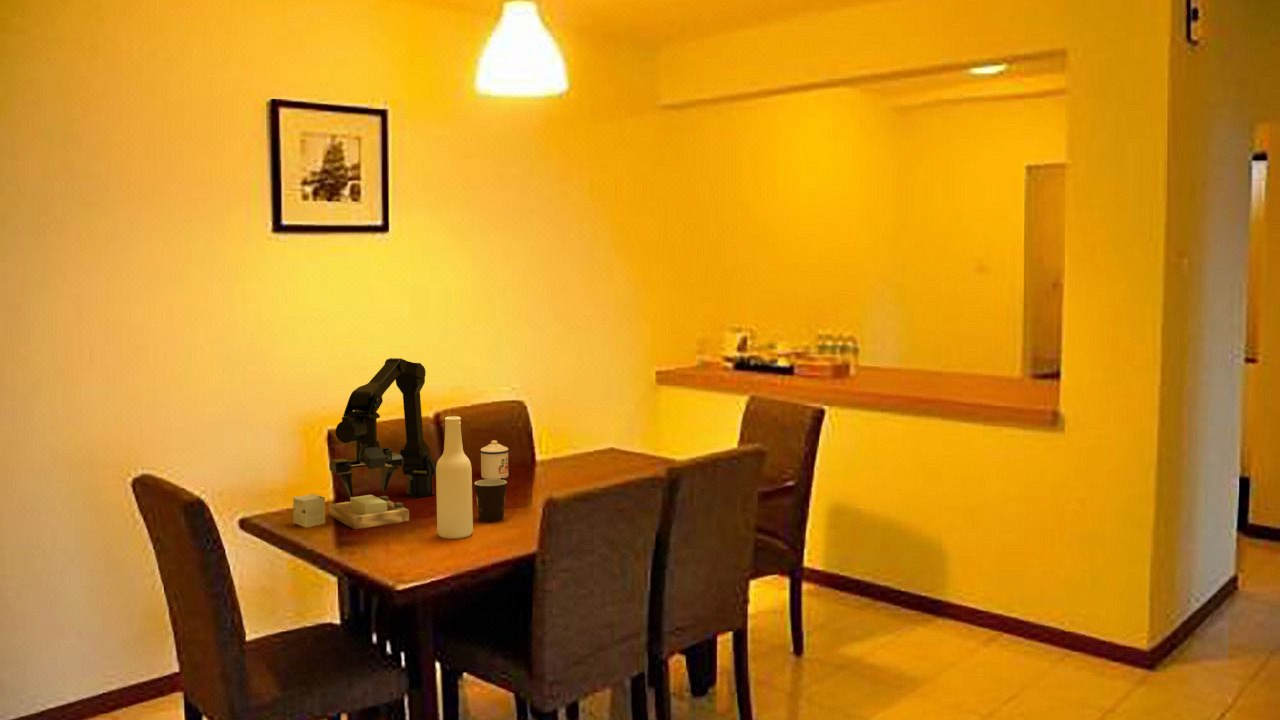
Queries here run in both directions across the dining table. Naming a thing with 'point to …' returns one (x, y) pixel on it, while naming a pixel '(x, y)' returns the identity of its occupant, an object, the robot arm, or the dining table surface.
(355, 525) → the carcass
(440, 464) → the alcohol
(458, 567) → the dining table surface
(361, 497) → the cream rectangular block
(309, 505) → the skincare box
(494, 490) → the coffee mug
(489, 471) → the teacup with lid
